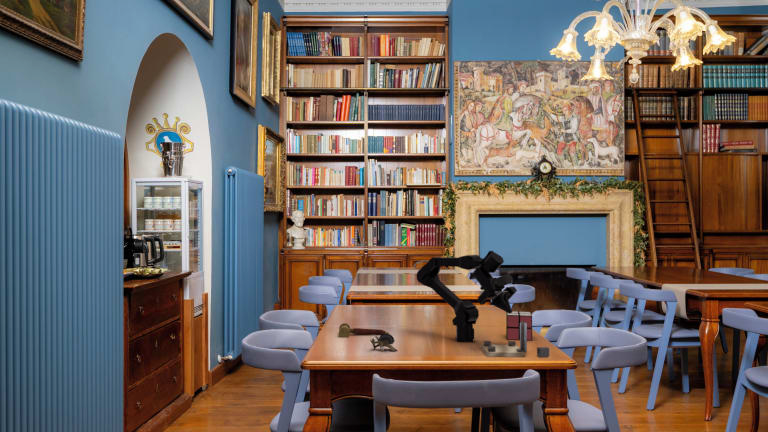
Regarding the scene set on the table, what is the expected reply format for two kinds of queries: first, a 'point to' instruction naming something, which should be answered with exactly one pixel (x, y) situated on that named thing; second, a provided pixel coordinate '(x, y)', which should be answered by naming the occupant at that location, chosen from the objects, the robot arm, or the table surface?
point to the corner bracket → (542, 351)
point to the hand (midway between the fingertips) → (511, 312)
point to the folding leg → (524, 335)
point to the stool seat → (505, 347)
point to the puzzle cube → (518, 325)
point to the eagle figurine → (384, 342)
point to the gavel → (358, 331)
